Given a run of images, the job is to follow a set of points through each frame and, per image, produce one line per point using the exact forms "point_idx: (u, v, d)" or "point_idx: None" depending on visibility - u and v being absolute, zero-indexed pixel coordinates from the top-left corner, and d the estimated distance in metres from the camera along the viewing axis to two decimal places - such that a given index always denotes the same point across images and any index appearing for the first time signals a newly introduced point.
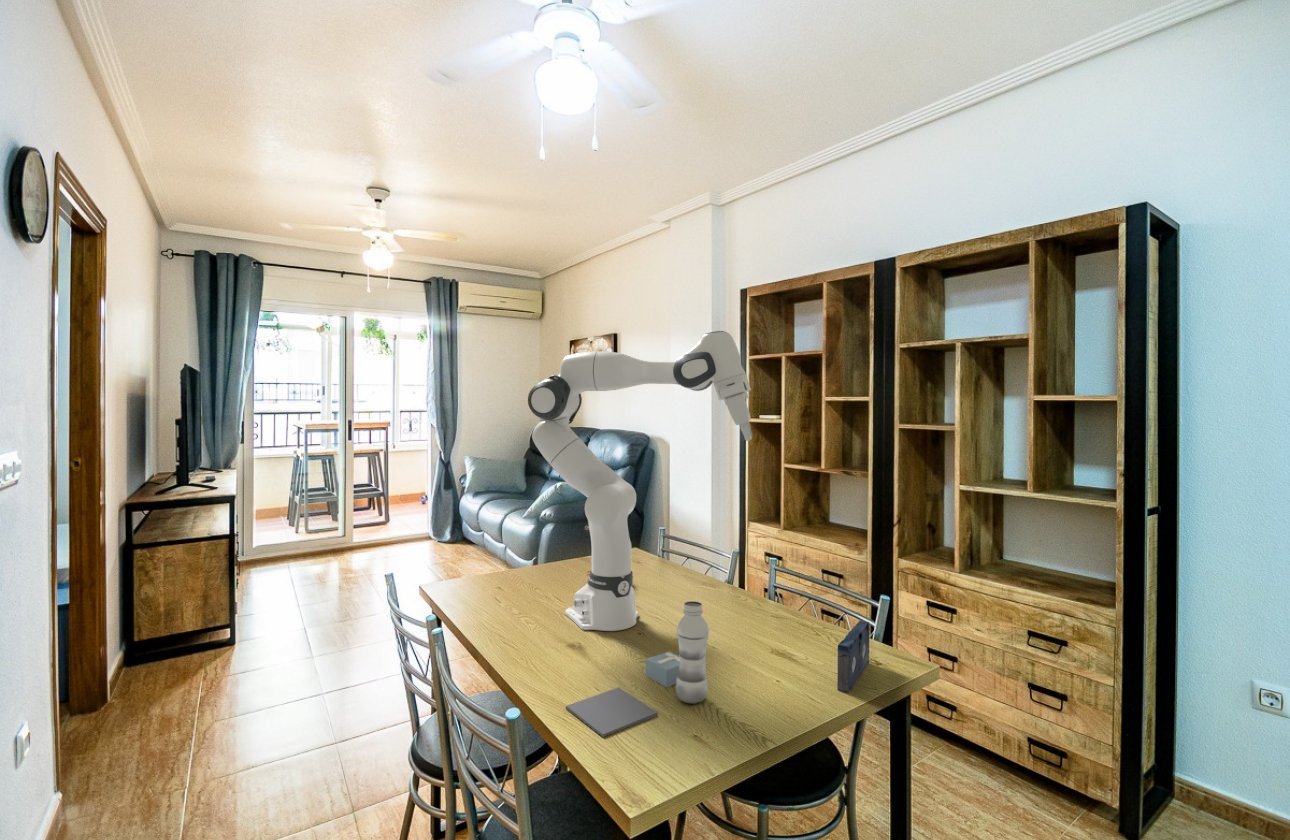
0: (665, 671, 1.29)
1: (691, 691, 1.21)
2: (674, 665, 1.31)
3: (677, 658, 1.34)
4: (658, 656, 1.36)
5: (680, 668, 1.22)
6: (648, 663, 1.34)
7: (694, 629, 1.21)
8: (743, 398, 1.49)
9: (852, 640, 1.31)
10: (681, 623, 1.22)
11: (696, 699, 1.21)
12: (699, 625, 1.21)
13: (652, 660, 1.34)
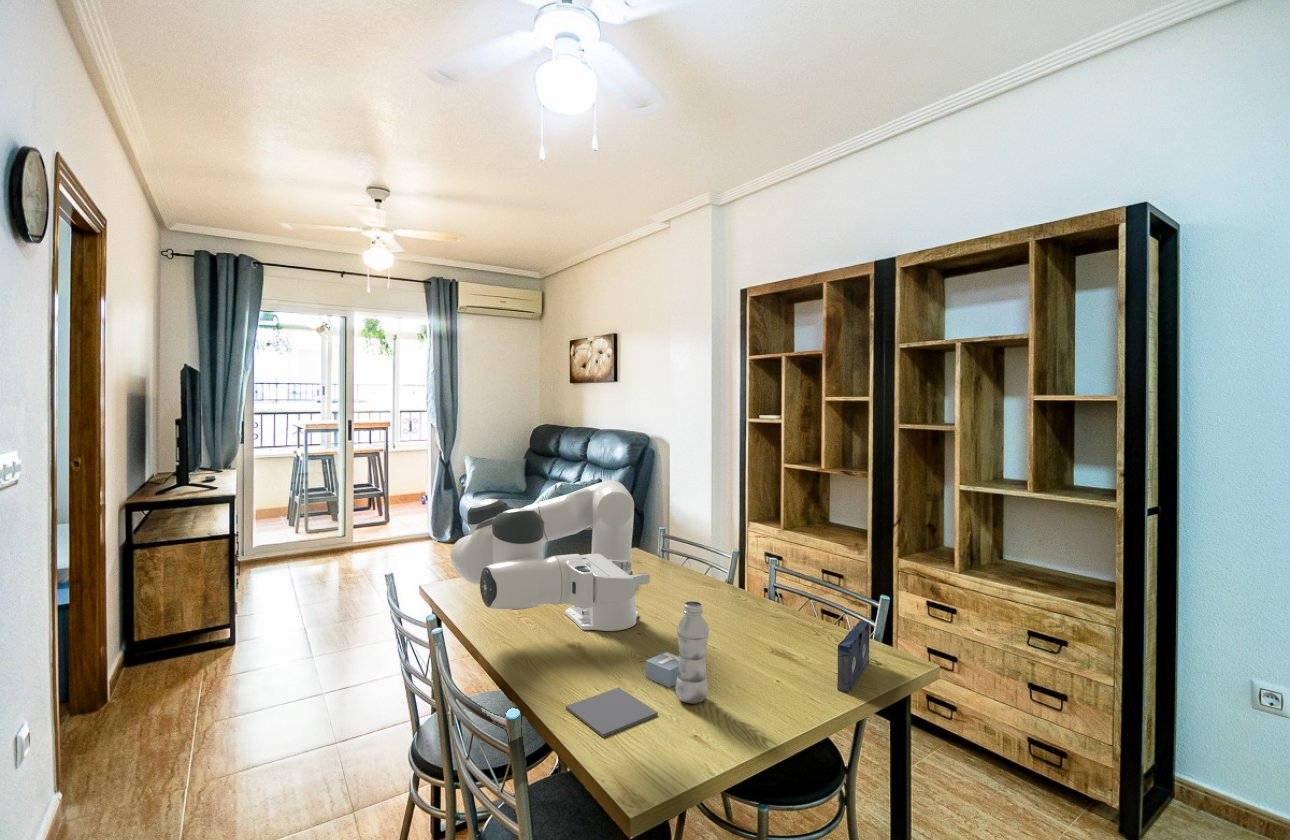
0: (667, 671, 1.29)
1: (691, 691, 1.21)
2: (675, 665, 1.32)
3: (677, 658, 1.34)
4: (656, 657, 1.36)
5: (680, 668, 1.22)
6: (648, 664, 1.33)
7: (694, 629, 1.21)
8: (604, 579, 1.05)
9: (852, 640, 1.31)
10: (681, 623, 1.22)
11: (696, 699, 1.21)
12: (699, 625, 1.21)
13: (652, 661, 1.33)
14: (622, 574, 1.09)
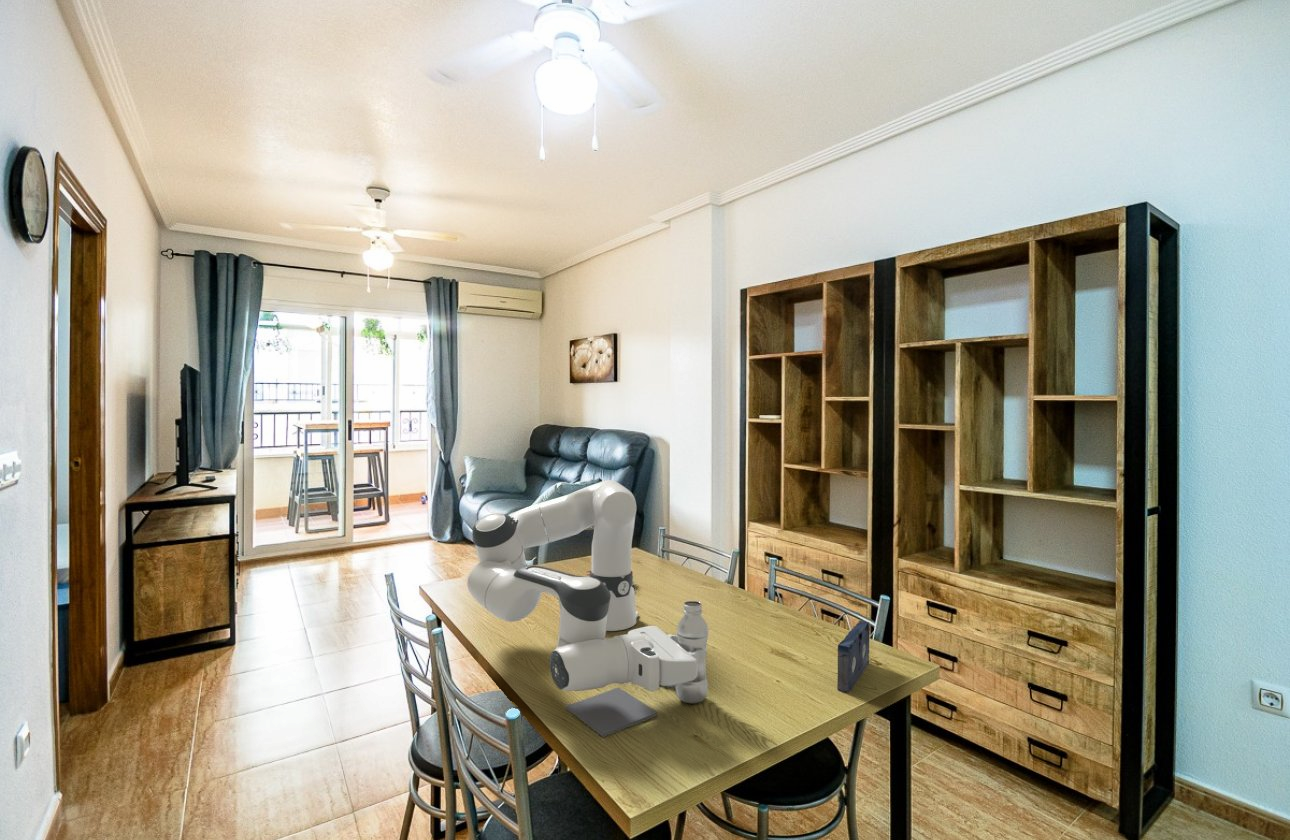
0: None
1: (691, 691, 1.21)
2: None
3: None
4: None
5: None
6: None
7: (694, 629, 1.21)
8: (670, 662, 1.11)
9: (852, 640, 1.31)
10: (681, 623, 1.22)
11: (696, 698, 1.21)
12: (699, 624, 1.21)
13: None
14: (684, 655, 1.15)
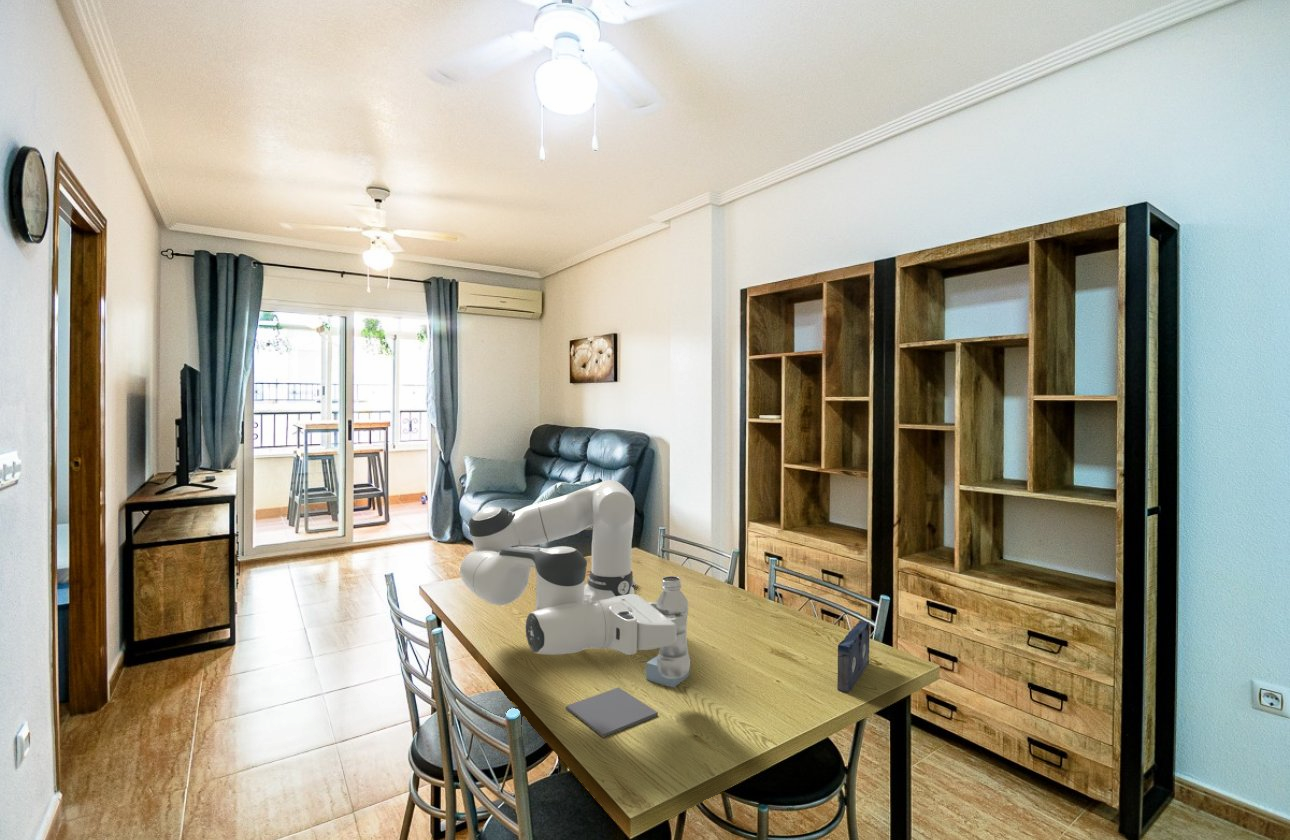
0: None
1: (672, 667, 1.19)
2: None
3: None
4: (655, 658, 1.35)
5: None
6: (649, 666, 1.32)
7: (673, 604, 1.18)
8: (648, 626, 1.09)
9: (852, 640, 1.31)
10: (660, 599, 1.20)
11: (679, 674, 1.19)
12: (678, 599, 1.19)
13: (653, 663, 1.32)
14: (663, 619, 1.13)
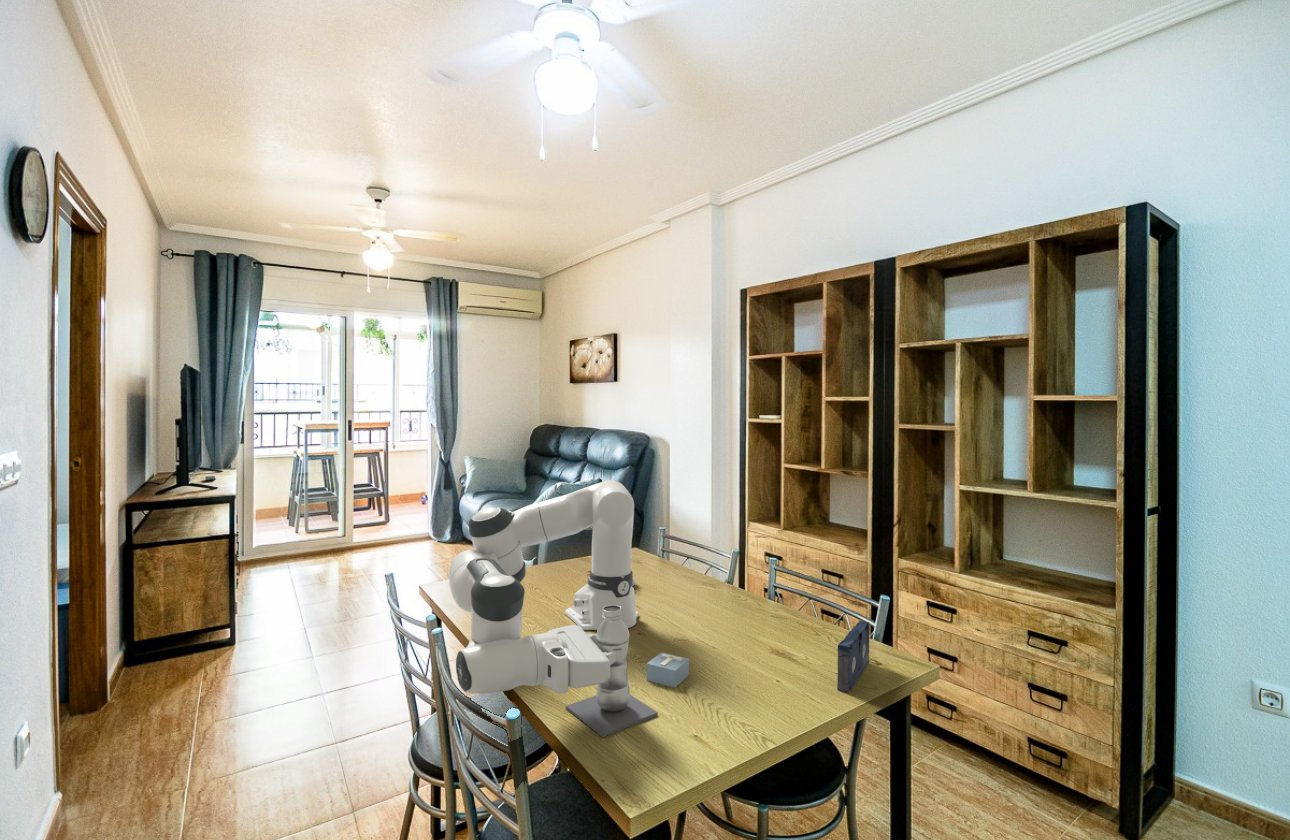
0: (673, 672, 1.29)
1: (610, 699, 1.16)
2: (678, 664, 1.32)
3: (676, 657, 1.35)
4: (655, 658, 1.35)
5: None
6: (650, 667, 1.32)
7: (612, 635, 1.15)
8: (579, 663, 1.06)
9: (852, 640, 1.31)
10: (599, 629, 1.17)
11: (617, 707, 1.16)
12: (618, 630, 1.16)
13: (653, 663, 1.32)
14: (598, 655, 1.10)
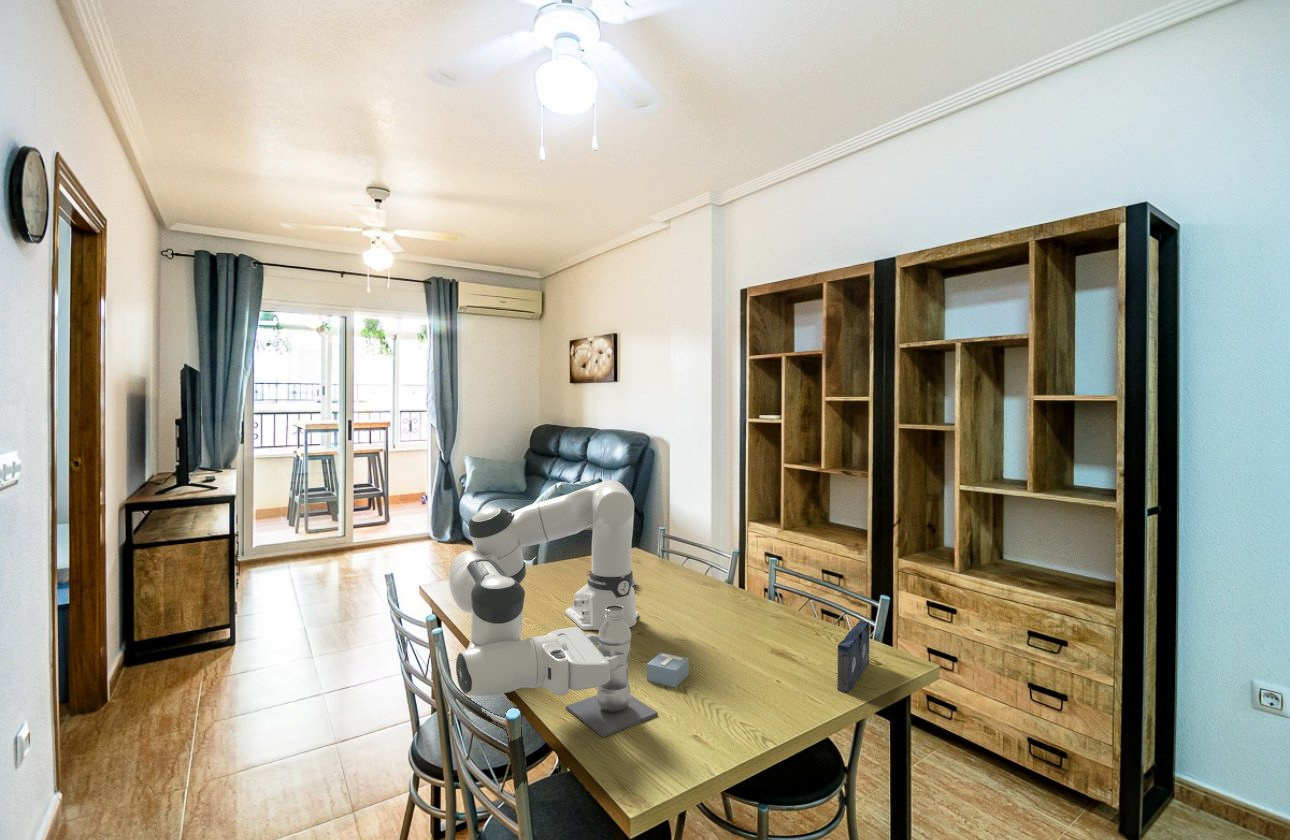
0: (673, 672, 1.29)
1: (611, 699, 1.16)
2: (678, 664, 1.32)
3: (675, 657, 1.35)
4: (655, 659, 1.35)
5: None
6: (650, 667, 1.32)
7: (615, 634, 1.16)
8: (579, 665, 1.06)
9: (852, 640, 1.31)
10: (602, 628, 1.17)
11: (617, 707, 1.16)
12: (620, 630, 1.16)
13: (654, 664, 1.32)
14: (598, 658, 1.10)
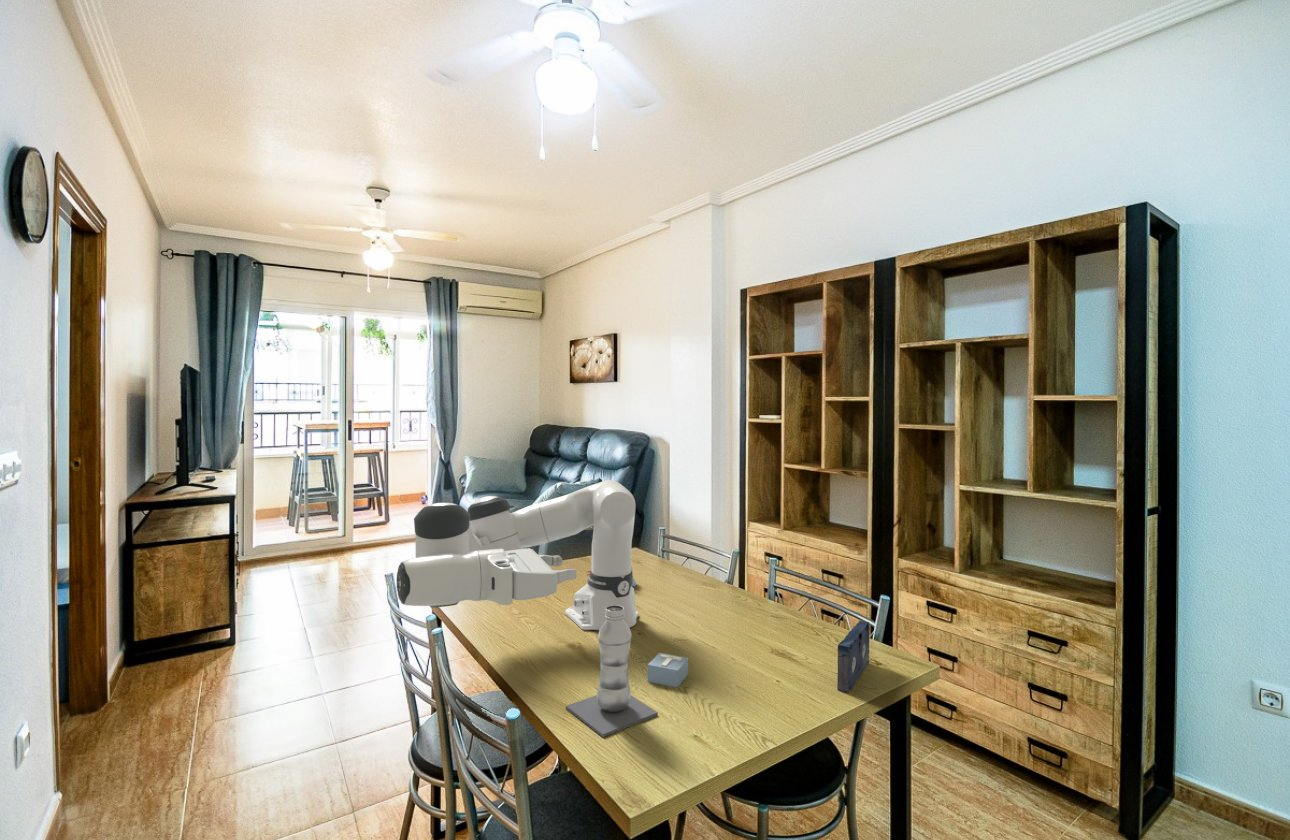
0: (675, 672, 1.29)
1: (611, 699, 1.16)
2: (679, 664, 1.32)
3: (675, 657, 1.35)
4: (655, 659, 1.34)
5: (601, 675, 1.17)
6: (651, 668, 1.31)
7: (615, 634, 1.16)
8: (523, 574, 1.01)
9: (852, 640, 1.31)
10: (602, 628, 1.17)
11: (617, 707, 1.16)
12: (620, 630, 1.16)
13: (654, 664, 1.32)
14: (545, 569, 1.05)
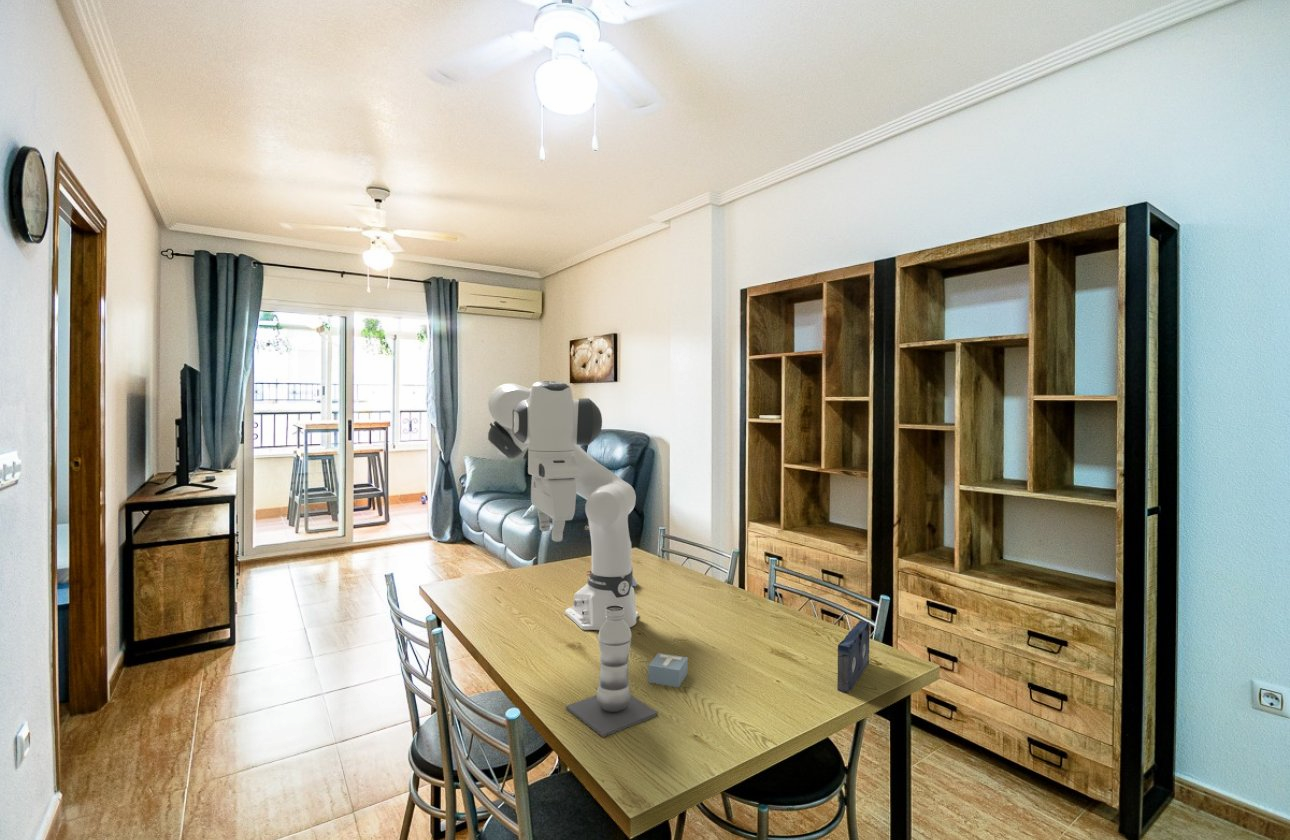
0: (676, 672, 1.29)
1: (611, 699, 1.16)
2: (679, 664, 1.32)
3: (675, 657, 1.35)
4: (655, 660, 1.34)
5: (601, 675, 1.17)
6: (652, 669, 1.31)
7: (615, 634, 1.16)
8: (575, 487, 1.09)
9: (852, 640, 1.31)
10: (602, 628, 1.17)
11: (617, 707, 1.16)
12: (620, 630, 1.16)
13: (655, 665, 1.31)
14: None
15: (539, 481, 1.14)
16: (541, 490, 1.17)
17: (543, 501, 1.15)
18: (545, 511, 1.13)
